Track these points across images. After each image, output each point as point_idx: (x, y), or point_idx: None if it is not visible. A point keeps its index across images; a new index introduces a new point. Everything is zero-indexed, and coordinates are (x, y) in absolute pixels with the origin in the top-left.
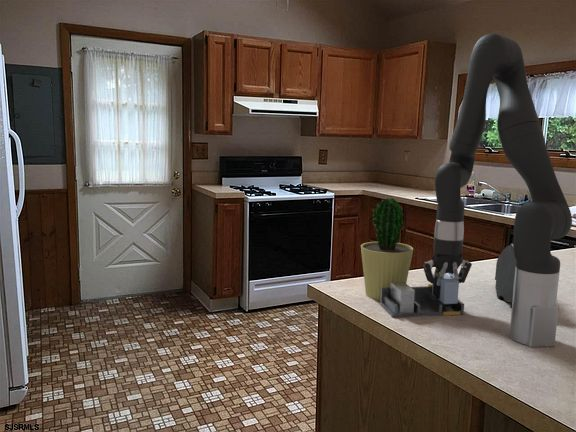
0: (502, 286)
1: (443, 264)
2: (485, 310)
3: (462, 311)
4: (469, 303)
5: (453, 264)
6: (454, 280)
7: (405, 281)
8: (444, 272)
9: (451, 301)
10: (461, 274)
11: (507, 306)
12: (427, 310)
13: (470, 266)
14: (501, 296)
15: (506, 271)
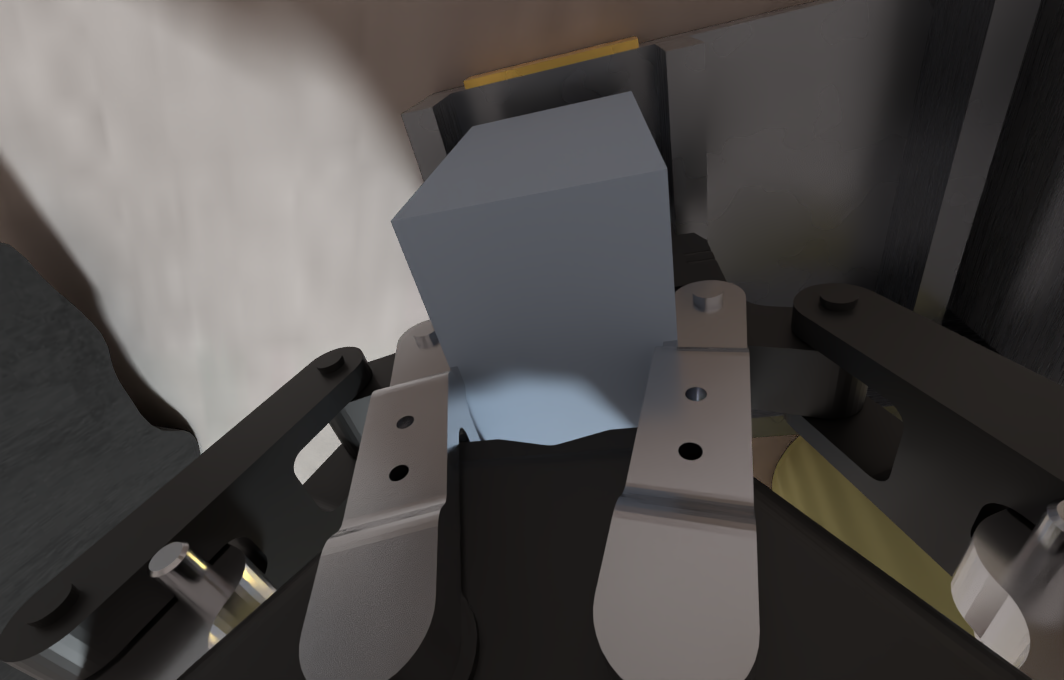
0: (115, 491)
1: (754, 614)
2: (251, 219)
3: (436, 96)
4: (361, 350)
5: (407, 607)
6: (458, 309)
7: (854, 531)
8: (656, 415)
9: (542, 114)
10: (327, 484)
11: (116, 310)
12: (802, 72)
13: (73, 571)
14: (158, 428)
15: (13, 603)
